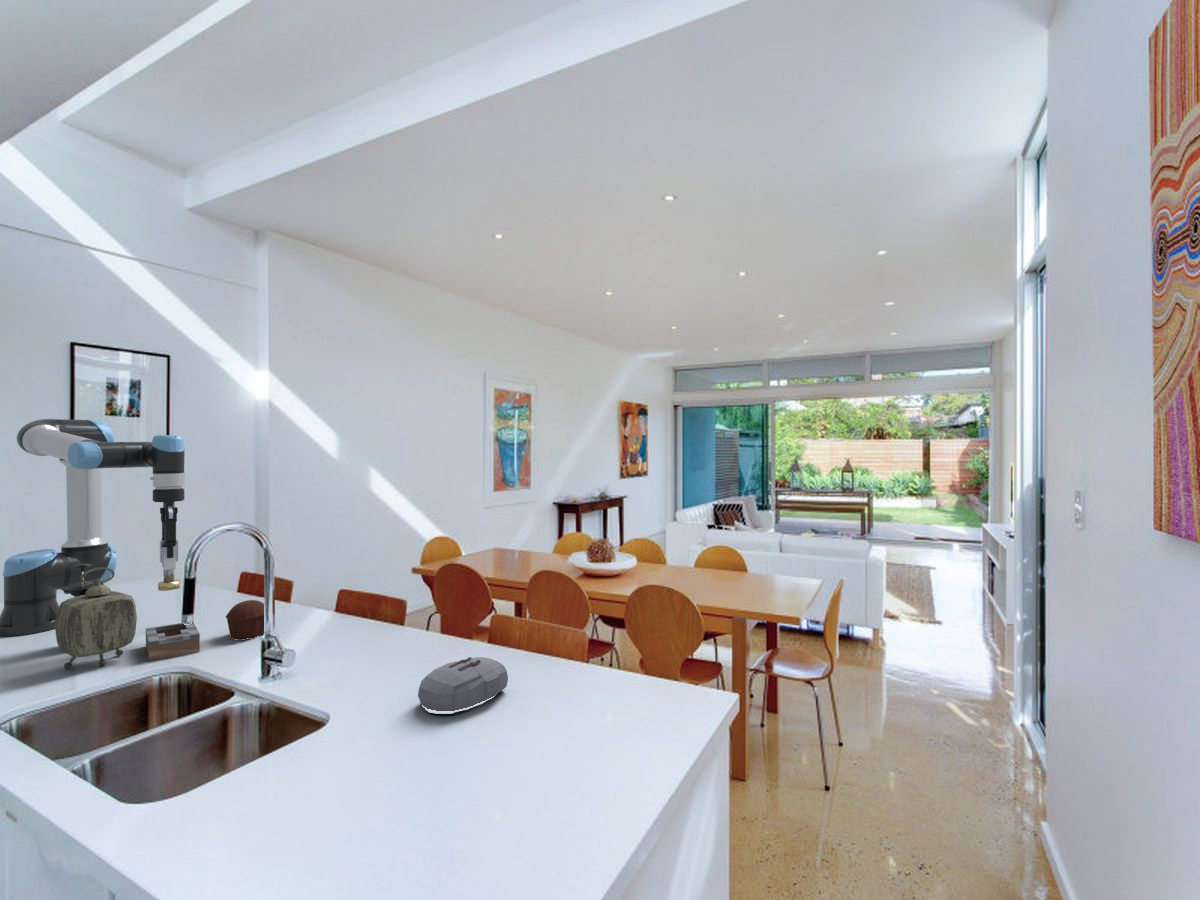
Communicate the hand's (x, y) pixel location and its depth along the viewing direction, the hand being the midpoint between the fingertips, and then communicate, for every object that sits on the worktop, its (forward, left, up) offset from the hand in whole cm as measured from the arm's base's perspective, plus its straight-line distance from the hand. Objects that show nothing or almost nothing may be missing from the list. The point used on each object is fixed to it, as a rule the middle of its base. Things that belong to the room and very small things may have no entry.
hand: (168, 567), depth 172 cm
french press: (-8, -19, -21) cm, 29 cm away
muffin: (+11, +18, -21) cm, 30 cm away
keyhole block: (+11, 0, -21) cm, 24 cm away
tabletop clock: (+13, -16, -21) cm, 29 cm away
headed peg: (0, 0, -6) cm, 6 cm away
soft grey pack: (+92, +46, -21) cm, 105 cm away
